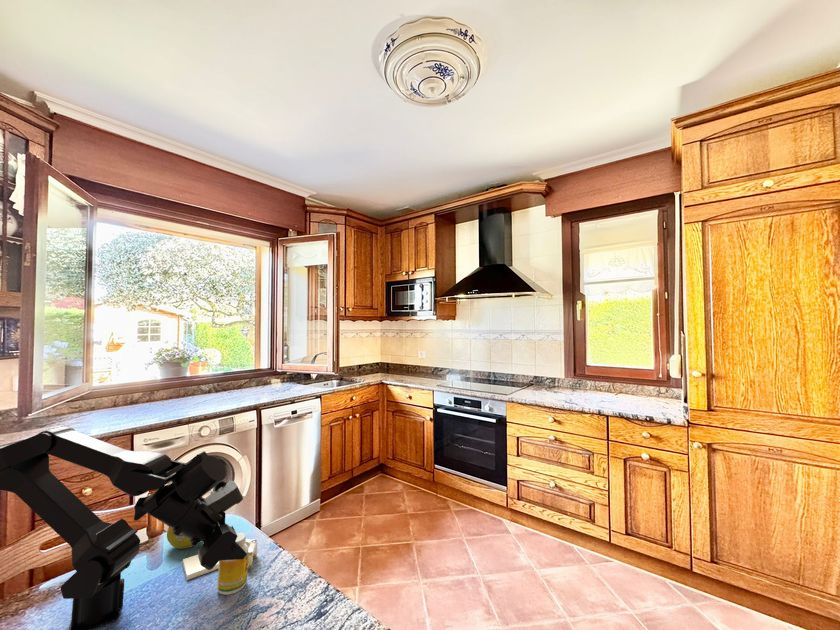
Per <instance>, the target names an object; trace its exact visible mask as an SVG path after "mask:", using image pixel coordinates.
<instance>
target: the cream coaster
mask: <svg viewBox="0 0 840 630" xmlns="http://www.w3.org/2000/svg"><path fill="white" fill-rule="evenodd" d="M182 565H183V571H184V575H185V579H186V581H189V580H191V579H194V578H197V577H199V576H202V575H206V574H208V573H210V572H213V571H216V570H218V568H219V561H218V563H217V564H216V565H215V566H214V567H213V569H211V570H208V569H206V568H204V567H203V566H201V564H200V561H199V558H198V554H195V555H192V556H190V557H187V558H183V559H182Z"/></svg>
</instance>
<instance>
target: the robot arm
mask: <svg viewBox="0 0 840 630" xmlns="http://www.w3.org/2000/svg"><path fill="white" fill-rule="evenodd" d="M50 456H53V457H54V458H57V459H61V460H63V461H67V462H69V463H72V464H74V465H76V466H80V467H82V468H85V469H87V470H91V471H93V472H96V473H98V474H101V475H104V476H105V477H107V478H109V481H110V483H111V484H112V486H113V487H114V488H116V489H118V490H119V491H120V492H123V493H125V494H126V495H128V496H130V497H139V496H143V495H144V494H146V493H148V492H149V491H153V493H151V494H149V495H148V496H147V495H146V496H143V497H139V498H138V499H137V501H136V503H135V504H134V506H133V507H134V514H133V515H134V517H133V520H134V521H140V519H141V518H143V517H144V516H145V515H147V514H149V515H150V516H152V517H153V518H154V519H156V520H157V521H159V522H161V523H163V524H164V525H165V526H168V527H171V528H172V529H173V533H174V534H175V535H177V536H178V535H179V534H182V535H183V536H185V537H187V538H188V539H190V542H191V544H192V545H193V546H192V547H197V546H198V544H200V543H201V542H202V545H201V546H200V547H199V548H198V553H197V555H198V558H199V561H200V564H201V566H203V567H204V568H206V569H208V570H211V569H213V567H214V566H215V565H216V564H217V563H218V561H222V560H239V559H244V558H245V556H246V555H247V553H246V552H245V551H244V550H243V548H242V547H241V546H240V545H239V544H238V543H237V542H236V539H237V534H236V533H237V532H236V529H235V528H234V527H233V525H231V526H230V525H229V524H228V523H226V511H228V510H229V509H231V508H232V507H233V506H235V505H239V504H240V503H241V502H242V501H243V499H244V497H243V494H242V492H241V491H240V488H239V487H238V485H237V484H236V482H235V481H234V480H228V482H227V481H226V480H225V479H226V477H227V469H226V466H225V465H224V462H222V460H221V459H218V458H216V457H215V456H212V455H209V454H208V453H207V452H206V451H201V452H199V453H198V454H196V455H195V456H194V457H193V458H192V459H191V460H190V461H189V462H188V463H186V462H181V461H178V460H174V459H172V458H170V456H168V455H167V454H165V453H162V452H161V453H160V452H155V451H148V450H147V451H146V450H145V451H144V450H137V451H136V450H135V451H134V450H128V449H125V448H123V447H120V446H116V445H115V444H111V443H109V442H106V441H103V440H100V439H98V438H95V437H92V436H90V435H87V434H84V433H82V432H79V431H76V429H74V428H73V427H71V426H65V425H64V426H60V427H55V428H51V429H48V430H44V431H43V430H42V431H41V432H39V433H37V434H35V435H33V436H30V437H28V438H25V439H21V440H16V441H12V442H9V443H5V444H0V491H2V492H3V491H4V492H7V493H13V494H15V495H16V496H17V497H18V498H19V499H20V500H21V501H22V502H23V503H24V504H25V505H26V506H28V507H29V508H30V510H32V511H33V512H34V513H35V514H36V515H37V516H39V518H41V520H42V521H43V522H44V523H46V524H47V526H49V527H50V529H52V530H53V531H54V532H55V533H56V534H57V535H58V536H59V537H60V538H61V539H62V540H63V541H64V542H66V543H67V545H69V546H70V548H71V564H72V567H73V569H75V573H73V574H72V575H71V576H70V577H69V578H68V579H67V580H66V581H65V582H64V583H63V584H61V586H60V591H61V595H62V598H63V599H64V600H67V599H71V600H72V605H71V606H72V608H71V616H70V617H71V619H70V625H69V630H94V629H96V628H98V627H101V626H103V625H104V626H105V625H106V624H108V623H111V622H114V621H116V620H118V619H119V618H120V610H122V609H123V607H124V596H125V578H121V577H122V572H123V571H124V570H125V569H128V568H130V565H131V563H132V561H133V560H134V559H135V558H136V557H137V555H138V554H139V551H140V544H141V540H140V537H139V536H138V535H137V533H138V530H137V529H134V528H133V527H131V526H130V525H129V523H128V522H127V520H126V519H124V518H119V519H118V520H115V521H114V522H113V523H111V522H106V521H103V520H102V519H101V518H99V516H98V515H97V514H96V513H94V512H93V511H92V510H91V509H90V508H89V507H88V506H87V504H85V503H84V502H83V501H82V500H81V499H80V498H79V497H77V496H76V495H75V494H74V493H73V492H72V490H71V489H69V488H68V487H67V486H66V485H65V484H64V483H63V482H61V480H60V479H58V477H56V475H54V474H53V473H52V472H51V471H50ZM170 482H171V483H170ZM169 483H170V484H169ZM168 484H169V485H168ZM212 489H213V490H212ZM209 491H210V492H209ZM207 493H210V494H209V495H208V496H206V497H205V498H204V497H203V496H205V494H207ZM200 541H201V542H200Z"/></svg>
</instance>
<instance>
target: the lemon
mask: <svg viewBox="0 0 840 630" xmlns="http://www.w3.org/2000/svg"><path fill="white" fill-rule="evenodd" d="M166 539H167V542H168V543H169V544H170V545H171V546H172V547H173V548H174V549H181V550H183V549H189V548H192V547H194V546H193V545H192V544H191V542H190V539H188V538H187V537H185V536H183V535H182V534H179V535H178V536H177V535H175V534H174V533H173V529H172V528H171V527H169V526H168V527H167V532H166ZM201 542H202V541H200V542H199V543H201Z"/></svg>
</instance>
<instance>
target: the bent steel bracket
mask: <svg viewBox="0 0 840 630" xmlns="http://www.w3.org/2000/svg"><path fill="white" fill-rule="evenodd" d="M245 544H247V546H248V568H247V572H251V571H252V570H253V562H254V561H253V560H255V559H256V558H257V557H258V540H257V539H252V538H246V541H245Z"/></svg>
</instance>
